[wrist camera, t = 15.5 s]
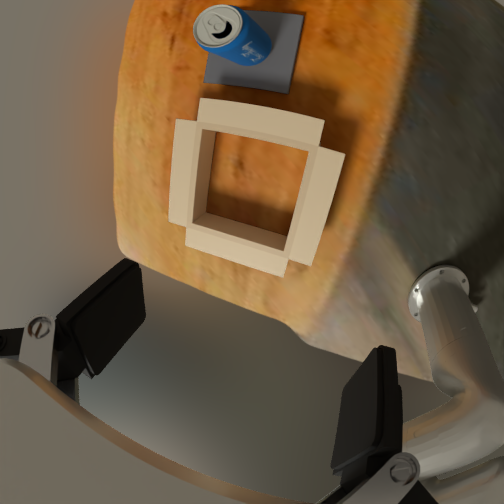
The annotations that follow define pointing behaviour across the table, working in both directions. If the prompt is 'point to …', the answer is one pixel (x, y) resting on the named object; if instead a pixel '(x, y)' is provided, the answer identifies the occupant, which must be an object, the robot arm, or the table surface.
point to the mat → (273, 67)
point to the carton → (236, 233)
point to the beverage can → (232, 35)
